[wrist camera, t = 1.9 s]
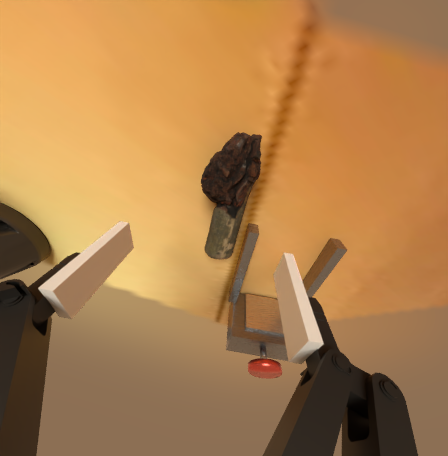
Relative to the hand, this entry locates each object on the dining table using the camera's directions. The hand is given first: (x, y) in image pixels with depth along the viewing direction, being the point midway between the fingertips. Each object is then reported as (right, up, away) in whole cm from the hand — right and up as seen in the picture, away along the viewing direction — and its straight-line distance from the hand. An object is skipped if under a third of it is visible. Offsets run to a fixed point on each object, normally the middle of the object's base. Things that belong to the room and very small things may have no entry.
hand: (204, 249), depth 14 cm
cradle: (+11, -9, +19) cm, 24 cm away
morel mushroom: (+2, +7, +11) cm, 13 cm away
